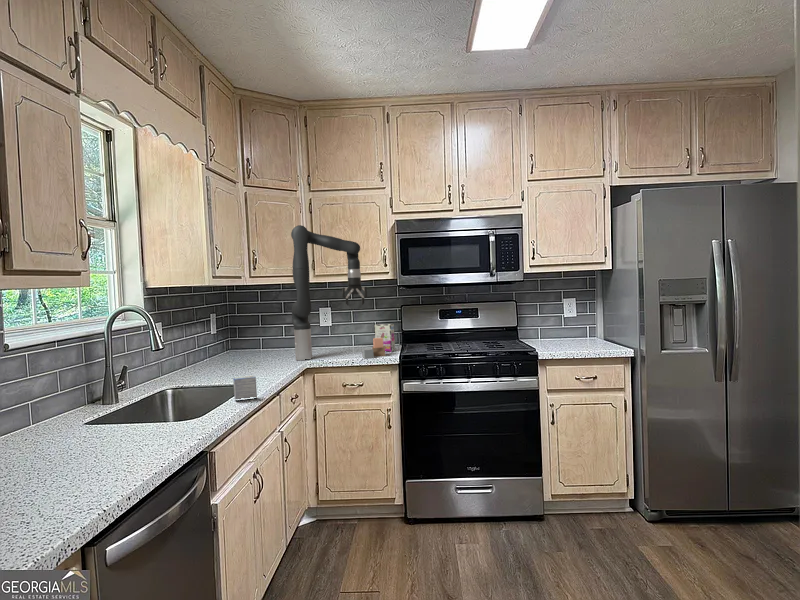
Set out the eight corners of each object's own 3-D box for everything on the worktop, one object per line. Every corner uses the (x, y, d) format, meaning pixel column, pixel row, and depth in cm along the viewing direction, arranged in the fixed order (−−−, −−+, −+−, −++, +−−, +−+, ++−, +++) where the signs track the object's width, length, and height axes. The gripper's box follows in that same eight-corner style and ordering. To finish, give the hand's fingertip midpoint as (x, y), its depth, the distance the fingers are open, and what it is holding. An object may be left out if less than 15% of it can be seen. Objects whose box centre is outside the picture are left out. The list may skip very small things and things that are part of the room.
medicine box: (255, 397, 212) (254, 375, 212) (257, 399, 208) (256, 376, 207) (234, 400, 209) (233, 377, 208) (235, 402, 205) (234, 379, 204)
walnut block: (372, 357, 308) (372, 348, 308) (372, 355, 315) (372, 346, 315) (385, 356, 308) (384, 347, 308) (384, 354, 315) (384, 346, 315)
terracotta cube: (373, 346, 314) (373, 338, 313) (382, 346, 314) (381, 337, 314) (374, 347, 309) (374, 339, 308) (383, 347, 309) (382, 338, 309)
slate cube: (364, 359, 300) (364, 350, 300) (362, 358, 305) (362, 349, 305) (373, 358, 302) (373, 349, 302) (371, 357, 307) (370, 348, 306)
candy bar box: (395, 351, 328) (394, 323, 327) (391, 352, 323) (390, 324, 323) (379, 350, 333) (378, 323, 332) (375, 351, 329) (374, 324, 328)
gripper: (365, 276, 322) (366, 304, 322) (341, 277, 320) (342, 305, 320) (367, 276, 314) (367, 304, 315) (342, 277, 312) (343, 305, 313)
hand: (355, 305), depth 318 cm, fingers open, 8 cm apart
